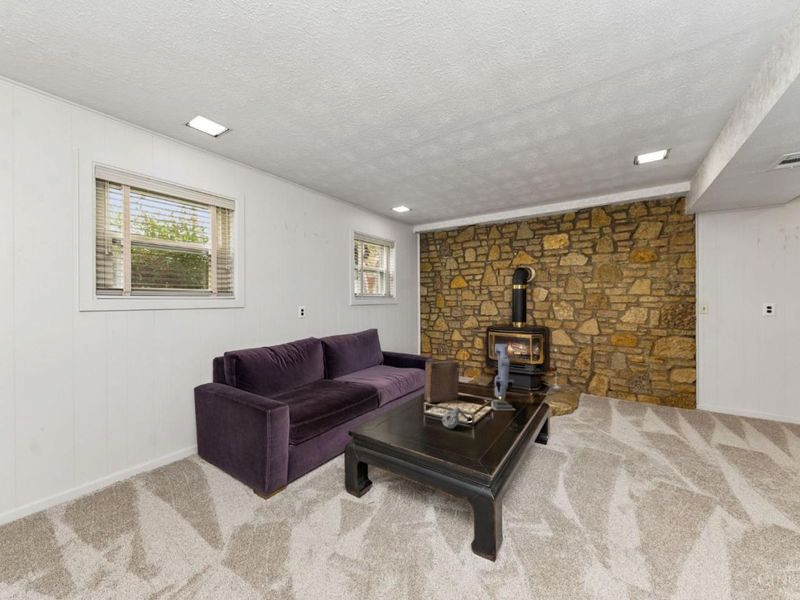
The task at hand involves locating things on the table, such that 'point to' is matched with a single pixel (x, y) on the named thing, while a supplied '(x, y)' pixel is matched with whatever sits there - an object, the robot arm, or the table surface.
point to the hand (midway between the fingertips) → (503, 391)
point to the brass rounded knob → (501, 400)
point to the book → (441, 381)
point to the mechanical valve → (453, 418)
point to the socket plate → (501, 407)
